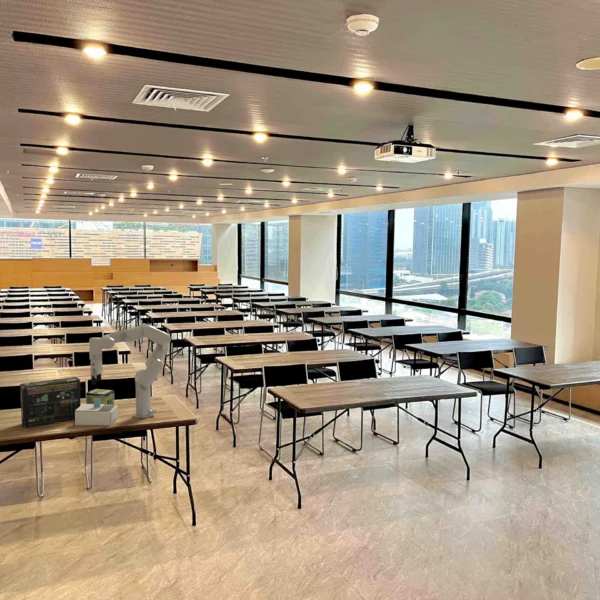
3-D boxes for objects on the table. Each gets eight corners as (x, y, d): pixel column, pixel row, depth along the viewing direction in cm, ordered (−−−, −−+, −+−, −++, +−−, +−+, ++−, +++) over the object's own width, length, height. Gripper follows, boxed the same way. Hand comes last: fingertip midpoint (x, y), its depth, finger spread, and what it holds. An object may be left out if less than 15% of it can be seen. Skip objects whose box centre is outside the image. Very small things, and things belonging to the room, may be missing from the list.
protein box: (106, 416, 382) (106, 394, 381) (85, 414, 385) (85, 392, 384) (114, 412, 393) (114, 390, 391) (94, 410, 396) (94, 388, 394)
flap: (104, 404, 378) (104, 395, 377) (97, 411, 363) (97, 402, 362) (83, 404, 377) (83, 395, 376) (75, 411, 362) (75, 402, 362)
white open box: (118, 418, 380) (118, 405, 379) (111, 425, 364) (111, 412, 363) (83, 417, 379) (83, 404, 378) (75, 425, 363) (74, 411, 362)
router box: (77, 414, 385) (76, 376, 382) (82, 419, 376) (81, 379, 373) (19, 423, 364) (18, 383, 361) (23, 428, 355) (21, 386, 352)
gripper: (97, 359, 358) (97, 386, 360) (105, 354, 376) (106, 379, 377) (85, 359, 358) (85, 385, 360) (94, 353, 375) (95, 379, 377)
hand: (96, 382), depth 369 cm, fingers open, 9 cm apart
